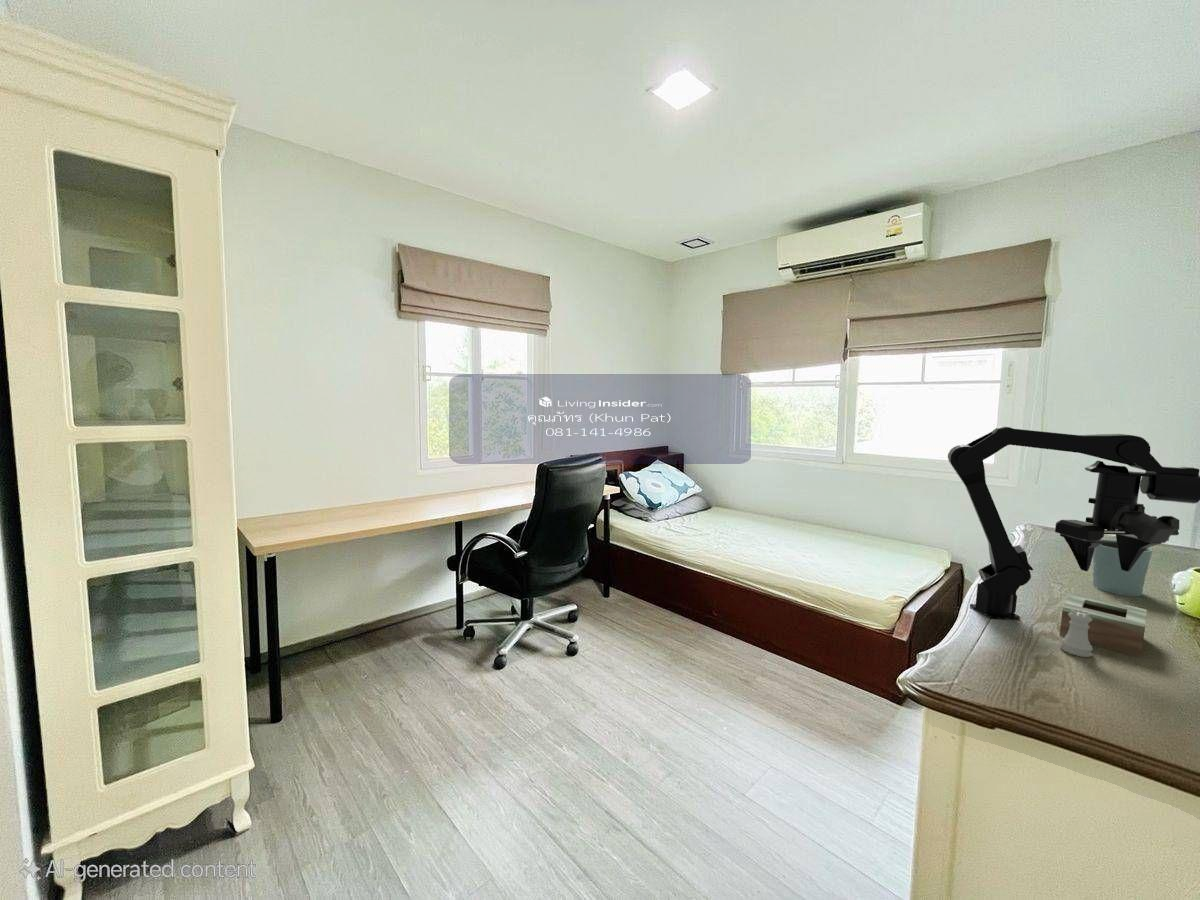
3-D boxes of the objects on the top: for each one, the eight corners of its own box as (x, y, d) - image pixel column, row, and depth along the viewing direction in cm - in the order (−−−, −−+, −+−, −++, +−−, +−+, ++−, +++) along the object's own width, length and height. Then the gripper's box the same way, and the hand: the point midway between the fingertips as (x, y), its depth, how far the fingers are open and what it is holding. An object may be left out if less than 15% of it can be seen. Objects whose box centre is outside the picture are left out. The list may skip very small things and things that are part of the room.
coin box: (1140, 657, 87) (1145, 627, 87) (1059, 634, 96) (1062, 606, 95) (1142, 637, 95) (1146, 609, 94) (1067, 618, 103) (1070, 592, 103)
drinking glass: (1154, 594, 118) (1160, 548, 116) (1134, 600, 114) (1140, 552, 113) (1099, 580, 127) (1104, 537, 126) (1079, 585, 123) (1084, 541, 122)
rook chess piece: (1099, 659, 87) (1104, 618, 86) (1071, 656, 87) (1076, 616, 87) (1080, 647, 91) (1085, 608, 90) (1053, 644, 92) (1058, 606, 91)
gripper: (1121, 504, 85) (1108, 586, 87) (1212, 506, 86) (1198, 586, 88) (1057, 492, 96) (1047, 565, 98) (1139, 493, 98) (1128, 565, 99)
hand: (1104, 570), depth 95 cm, fingers open, 9 cm apart
